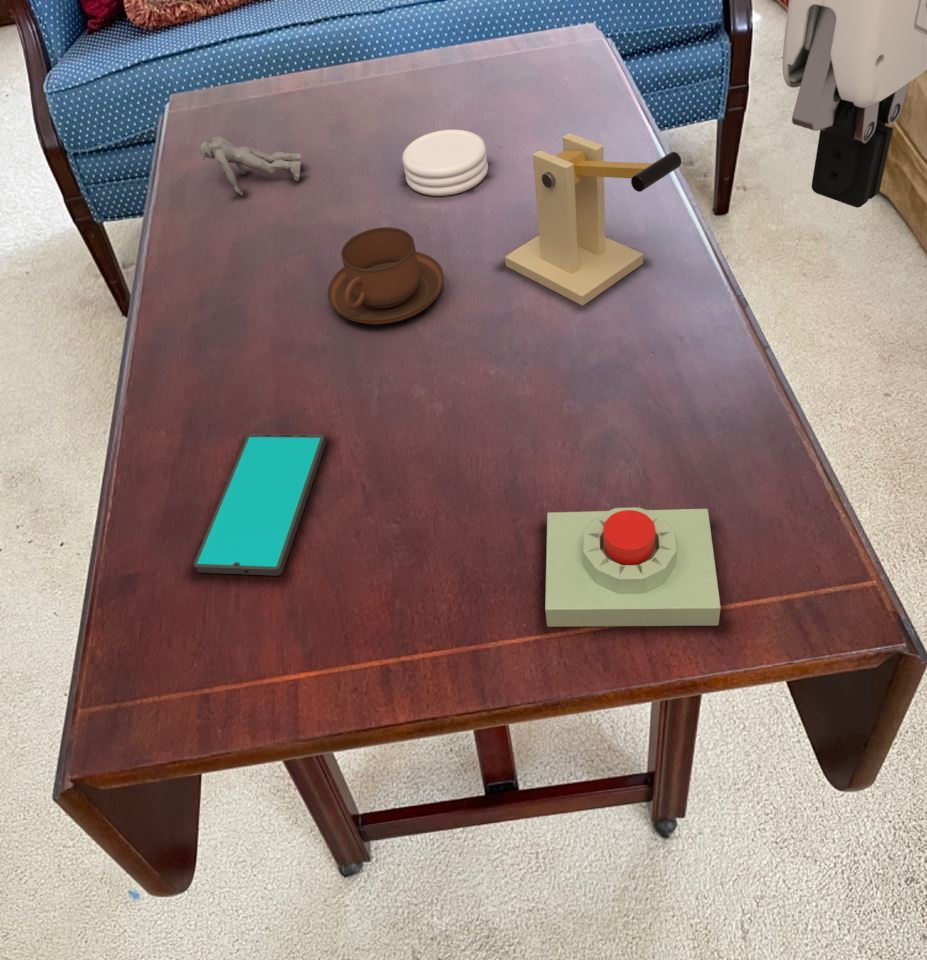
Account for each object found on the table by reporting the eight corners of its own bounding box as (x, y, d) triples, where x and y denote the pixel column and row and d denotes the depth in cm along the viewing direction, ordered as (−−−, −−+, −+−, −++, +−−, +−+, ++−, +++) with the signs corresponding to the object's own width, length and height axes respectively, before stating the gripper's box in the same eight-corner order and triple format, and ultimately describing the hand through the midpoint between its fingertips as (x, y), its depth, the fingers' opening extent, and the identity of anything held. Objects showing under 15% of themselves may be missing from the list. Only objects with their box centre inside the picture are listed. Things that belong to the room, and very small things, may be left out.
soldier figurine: (297, 180, 121) (201, 164, 118) (301, 142, 118) (203, 124, 115) (296, 206, 117) (196, 190, 114) (300, 166, 113) (198, 149, 110)
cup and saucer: (432, 337, 92) (422, 285, 87) (317, 333, 95) (302, 283, 90) (457, 265, 100) (449, 214, 95) (350, 264, 102) (337, 214, 98)
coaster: (420, 153, 117) (416, 127, 115) (497, 155, 115) (494, 128, 112) (395, 196, 111) (390, 169, 108) (476, 199, 108) (472, 171, 106)
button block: (706, 527, 72) (709, 492, 69) (718, 625, 66) (722, 592, 63) (548, 530, 74) (545, 496, 71) (547, 627, 67) (543, 594, 65)
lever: (684, 173, 82) (679, 146, 81) (646, 197, 80) (640, 170, 79) (579, 168, 92) (573, 144, 91) (543, 190, 90) (537, 166, 89)
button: (653, 524, 68) (653, 509, 67) (656, 564, 66) (657, 548, 64) (603, 525, 68) (602, 510, 67) (604, 565, 66) (603, 549, 65)
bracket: (643, 263, 96) (645, 146, 86) (582, 306, 92) (577, 188, 83) (565, 227, 102) (559, 114, 93) (505, 266, 99) (493, 152, 89)
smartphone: (324, 433, 83) (278, 569, 73) (327, 440, 84) (281, 576, 74) (246, 433, 84) (191, 566, 74) (249, 439, 85) (194, 572, 75)
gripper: (901, -139, 34) (824, 282, 47) (1098, -244, 40) (980, 157, 53) (730, -159, 38) (703, 232, 52) (930, -252, 44) (860, 121, 57)
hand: (844, 193), depth 52 cm, fingers closed
